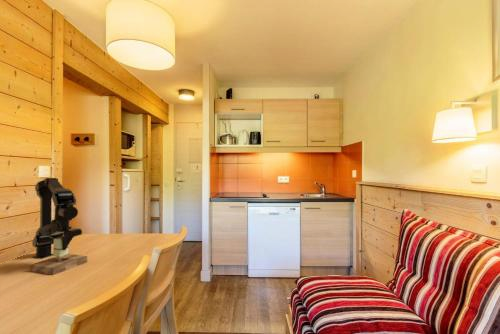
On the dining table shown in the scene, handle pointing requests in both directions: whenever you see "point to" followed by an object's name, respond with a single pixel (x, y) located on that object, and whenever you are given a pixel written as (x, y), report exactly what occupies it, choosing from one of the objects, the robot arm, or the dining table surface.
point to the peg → (59, 248)
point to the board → (58, 264)
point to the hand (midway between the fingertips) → (60, 249)
